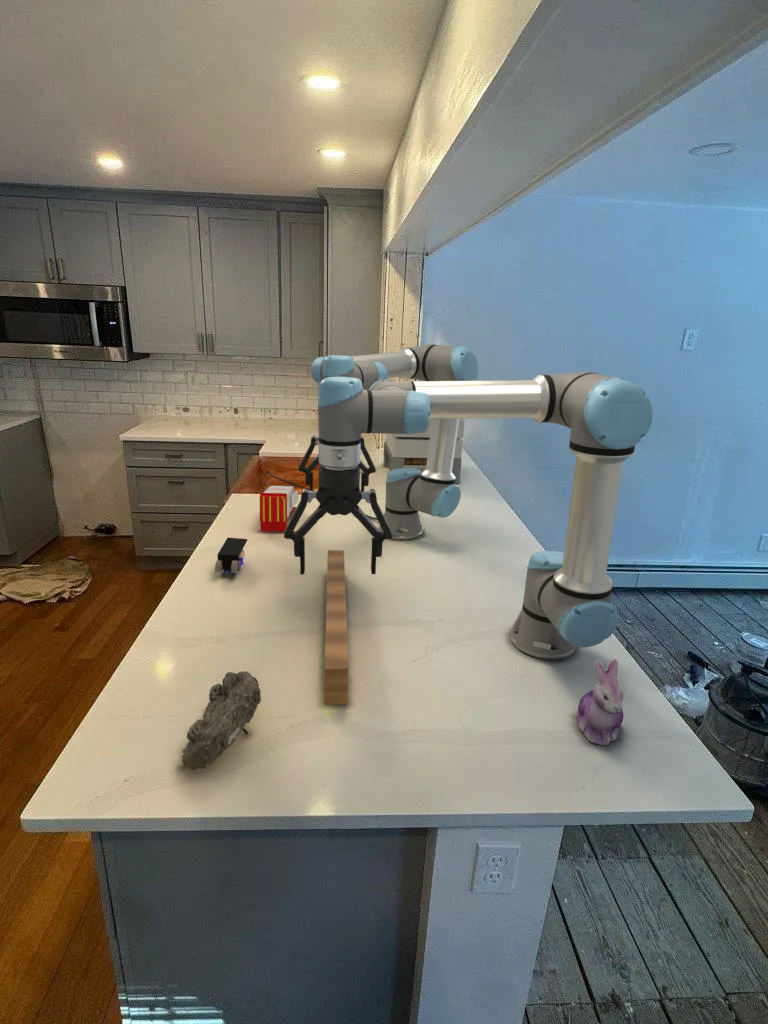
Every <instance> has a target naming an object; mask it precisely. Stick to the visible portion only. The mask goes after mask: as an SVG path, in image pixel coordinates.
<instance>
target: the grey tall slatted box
mask: <svg viewBox="0 0 768 1024" xmlns="http://www.w3.org/2000/svg"><path fill="white" fill-rule="evenodd" d="M465 420H466V419H459V426H458V433H457V440H456V447H455V454H454V461H453V468H452V473H453V474H454V476H455V477H456V480H455V484H459V483H461V472H462V461H463V460H462V453H463V442H464V441H463V440H462V439H463V438H464V431H465V430H464V429H465ZM431 425H432V419H430V421H429V426H428V428H427V430H426V431H425V432H424V433H419V434H410V435H407V434H385V438H384V442H383V466H384V467H388V468H389V471H391V470H394V469H398V468H405V466H406V467H407V466H411V467H412V466H413V467H415V466H416V467H417V466H418V467H426V464H427V456H428V448H429V440H430V433H431Z"/></svg>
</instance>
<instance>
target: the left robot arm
mask: <svg viewBox="0 0 768 1024" xmlns="http://www.w3.org/2000/svg"><path fill="white" fill-rule="evenodd" d="M479 375H480V364H479V359H478V356H477V354H476V353H475V352H474V351H473V350H472V349H471V348H467V347H464V346H459V345H458V346H455V345H441V344H432V343H431V344H422V345H415V346H408V347H401V348H399V349H398V350H396V351H392V352H382V353H372V354H371V353H369V354H362V355H361V354H360V355H351V356H350V355H339V354H338V355H337V354H336V355H335V354H333V355H331V354H330V355H327V356H319V357H317V358H315V359H314V360H313V362H312V364H311V366H310V376H311V379H313V380H312V381H314V382H315V383H316V384H320V382H321V381H322V380H323V379H324V378H327V377H352V378H357V379H360V380H361V382H362V387H363V390H369V389H370V387H371V386H372V385H373V384H374V383H375V382H377V381H379V380H383V379H393V378H399V379H401V380H416V381H478V378H479ZM458 426H459V419H432V425H431V433H430V440H429V448H428V456H427V464H426V466H425V469H423V470H421V469H420V468H416V467H404V468H398V469H394V470H391V471H390V470H388V472H387V475H386V480H385V504H384V505H385V507H384V508H385V509H384V512H383V515H384V517H385V519H386V521H387V523H388V525H389V527H390V529H391V532H392V538H391V539H390V540H395V541H410V540H415V539H418V538H420V537H421V536H422V535H423V525H422V524H421V518H420V515H419V512H420V513H423V514H426V515H429V516H431V517H436V518H440V519H445V518H448V517H450V516H451V515H452V514H453V513H454V511H455V510H456V509H457V507H458V506H459V504H460V501H461V497H462V492H461V487H460V486H459V485H457V484H456V483H455V480H456V477H455V476H454V474H453V473H452V468H453V461H454V454H455V447H456V440H457V433H458ZM318 441H319V436H316V435H314V434H313V435H311V437H310V444H309V445H308V447H307V449H306V452H305V453H304V456H303V458H302V460H301V462H300V464H299V465H298V468H297V469H298V472H301V473H304V476H305V479H304V481H305V482H304V483H305V486H303V485H300V484H297V483H294V482H291V481H289V480H286V479H283V478H280V477H277V476H275V475H273V474H272V473H270V470H266V472H265V473H266V474H268V476H270V477H271V478H274V479H277V480H279V481H281V482H284V483H287V484H290V485H291V486H295V487H298V488H301V489H304V488H307V489H308V491H316V492H317V490H314V471H313V470H314V469H316V467H317V466H318V465H319V464H320V463H319V453H318V454H317V455H316V456H315V458H313V460H312V461H311V462H310V463H309V464H308V461H309V459H310V457H311V456H312V453H313V452H314V450H315V447H316V446H318ZM365 444H366V443H365V438H364V436H362V435H361V448H360V452H362V453H361V454H362V455H363V457H364V459H365V461H366V463H367V465H368V467H367V466H366V465H365V463H364V462H363V461H362V460H361V459H360V464H358V466H359V468H360V471H361V472H360V491H361V492H365V487H369V484H370V474H376V472H377V469H376V465H375V464H374V462H373V460H372V458H371V456H370V453H369V450H368V449H367V447H366V445H365ZM307 464H308V466H307ZM306 486H309V487H306ZM361 500H364V499H363V498H362V499H361ZM364 514H365V515H366V516H367V517H368V518H369V519H370V520H374V521H378V520H377V518H376V517H373V516H370V515H367V514H366V513H364ZM378 530H379V531H380V532H383V530H382V528H381V526H380V525H379V527H378Z"/></svg>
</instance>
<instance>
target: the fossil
mask: <svg viewBox="0 0 768 1024" xmlns="http://www.w3.org/2000/svg"><path fill="white" fill-rule="evenodd" d="M261 693H262V691H261V688H260V684H259V680H258V679H257V677H256V676H253V675H252V674H251V673H250V672H249V671H243V670H242V671H238V672H233V671H228V672H226V673H225V674H224V677H223V678H222V684H221V683H217V684H213V685H212V686H211V688H210V689H209V693H208V697H209V699H208V700H209V702H208V703H207V706H206V707H205V710H204V712H203V714H202V719H196V721H195V722H194V723H193V724H192V725H191V726H190V727H189V730H188V732H187V734H186V739H187V740H188V743H187V744H186V746H185V748H183V750H182V755H181V758H182V759H181V761H182V766H183V768H188V769H189V770H190V771H194V770H198V769H204V768H205V769H209V768H210V767H211V766H212V765H213V764H214V763H215V762H216V761H217V760H218V759H219V758H221V756H222V755H223V754H224V753H225V752H226V751H227V750H228V749H229V748H230V747H231V746H232V745H234V743H235V742H236V740H237V737H238V736H240V734H241V733H242V732H243V733H244V734H245V735H248V734H249V731H248V730H247V729H246V728H245V727H246V724H248V723H250V722H251V720H252V719H253V717H254V716H255V713H256V711H257V710H258V709H257V708H258V706H259V704H261V702H262V695H261Z"/></svg>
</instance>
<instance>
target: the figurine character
mask: <svg viewBox="0 0 768 1024" xmlns="http://www.w3.org/2000/svg"><path fill="white" fill-rule="evenodd" d="M247 542H248V538H240V537H226V539H225V541H224V543H223V544H222V546H221V547H220V549H219V551H218V552H217V560H216V562H215V564H214V572H215V573H221V577H222V578H224V577H225V576H226V574H227V573H230V574H231V573H232V574H231V578H234V577H235V575H236V573H237V572H239V571H240V567H242V566H243V565H244V564H245V562H244V558H245V551H244V547H245V546H246V544H247Z"/></svg>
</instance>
